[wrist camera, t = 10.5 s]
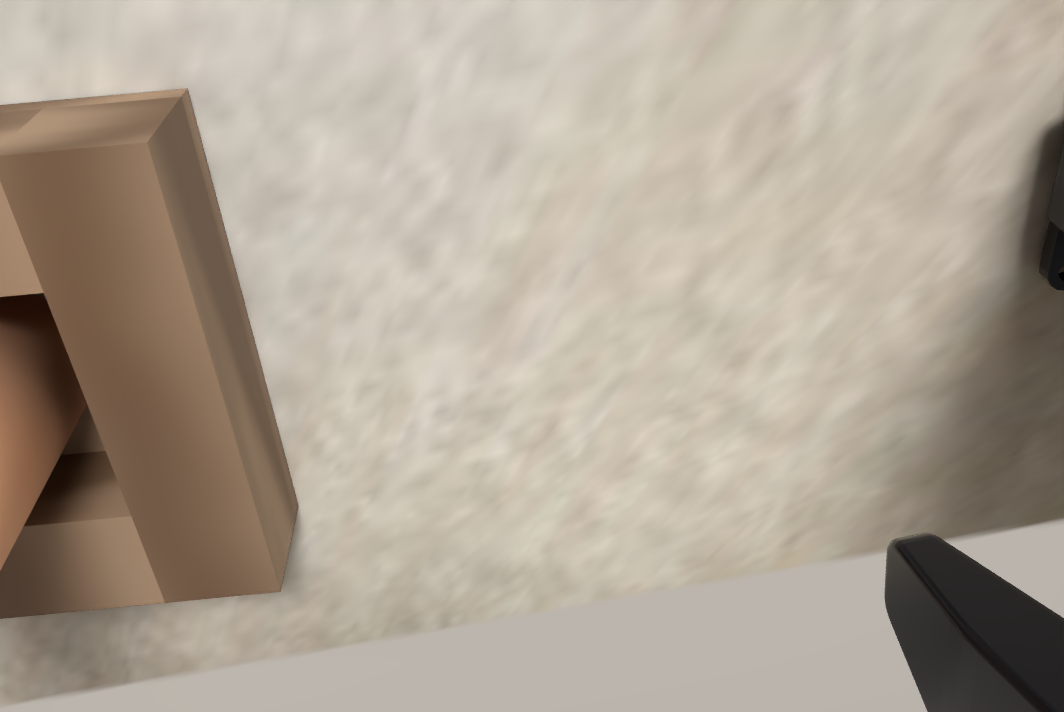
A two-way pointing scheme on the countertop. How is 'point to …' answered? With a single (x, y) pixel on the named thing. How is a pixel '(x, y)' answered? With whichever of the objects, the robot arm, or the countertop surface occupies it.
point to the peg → (31, 408)
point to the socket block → (139, 364)
